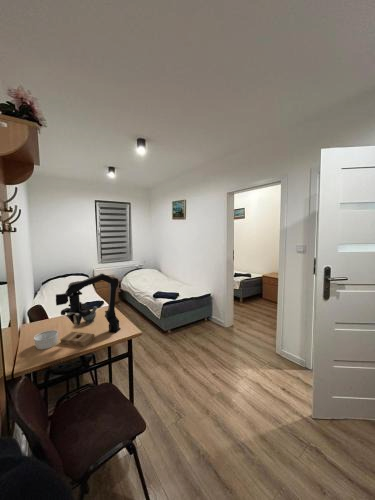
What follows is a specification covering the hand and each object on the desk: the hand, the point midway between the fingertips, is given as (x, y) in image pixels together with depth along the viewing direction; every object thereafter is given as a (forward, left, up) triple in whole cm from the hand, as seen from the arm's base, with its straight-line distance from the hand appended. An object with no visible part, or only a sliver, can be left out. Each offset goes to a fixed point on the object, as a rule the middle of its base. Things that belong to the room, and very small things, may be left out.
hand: (76, 324), depth 137 cm
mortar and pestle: (+11, -26, -12) cm, 30 cm away
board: (0, 0, -11) cm, 11 cm away
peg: (0, 0, -2) cm, 2 cm away
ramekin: (+17, +8, -12) cm, 22 cm away
